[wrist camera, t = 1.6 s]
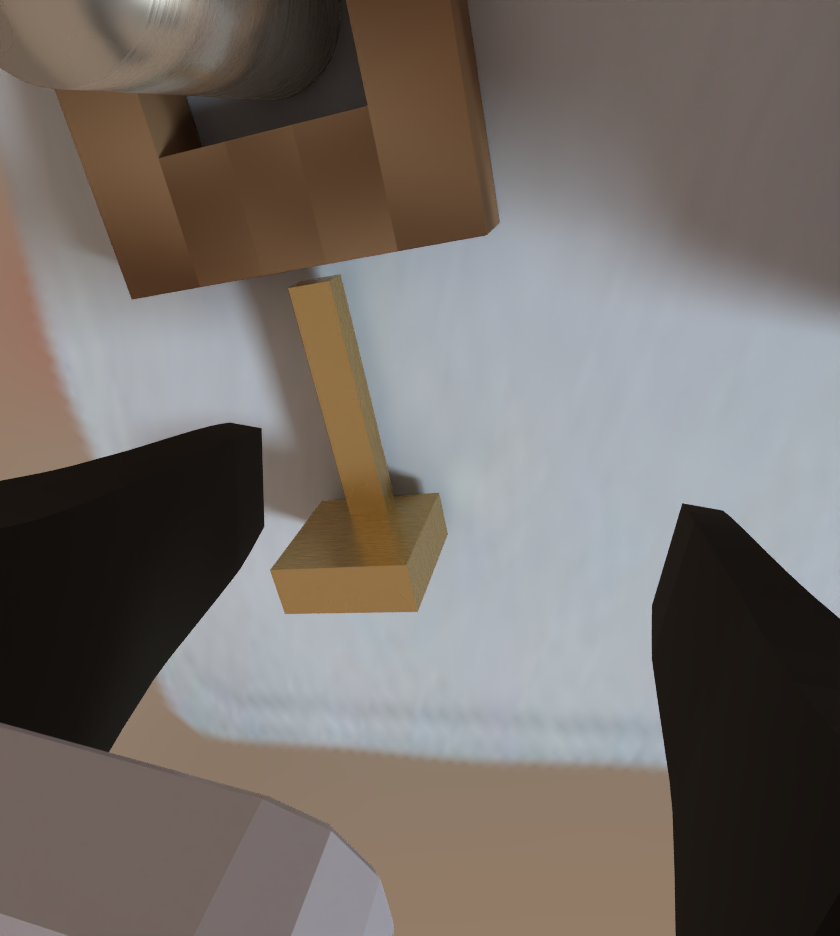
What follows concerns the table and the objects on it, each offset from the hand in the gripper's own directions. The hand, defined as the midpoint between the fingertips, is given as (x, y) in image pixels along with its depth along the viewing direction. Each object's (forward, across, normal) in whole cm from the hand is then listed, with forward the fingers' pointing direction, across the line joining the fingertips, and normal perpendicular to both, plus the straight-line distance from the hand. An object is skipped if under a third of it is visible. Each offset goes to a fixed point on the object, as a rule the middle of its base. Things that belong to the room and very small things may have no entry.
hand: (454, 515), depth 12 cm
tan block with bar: (+9, +4, +2) cm, 10 cm away
